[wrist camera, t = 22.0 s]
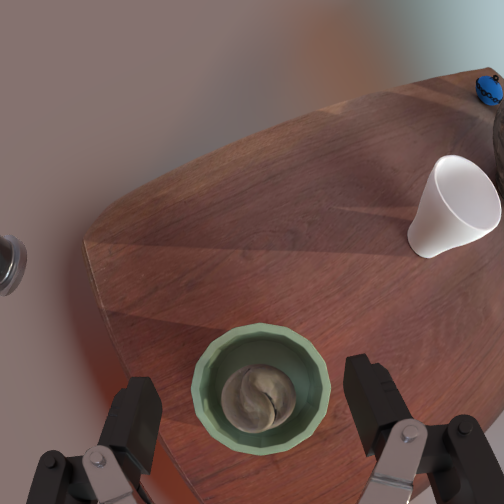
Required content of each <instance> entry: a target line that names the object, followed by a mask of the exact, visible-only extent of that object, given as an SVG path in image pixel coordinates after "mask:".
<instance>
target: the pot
mask: <svg viewBox="0 0 504 504" xmlns="http://www.w3.org/2000/svg"><path fill="white" fill-rule="evenodd" d="M252 364H266V365H270V366H274V367H276V368H278V369H280V370H281V371H283V372H284V373H285V374H286V375H287V376H288V377H289V378H290V379H291V381H292V383H293V385H294V388H295V392H296V403H295V407H294V409H293V412H292V413H291V415H290V416H289V417H288V418H287V419H286V420H285V421H284V422H283V423H282V424H280V425H278V426H277V427H274V428H271V429H268V430H266V431H263V432H260V433H248V432H244V431H241V430H239V429H238V428H236V427H235V426H233V425H232V424H231V423H230V421H229V420H228V419H227V418H226V416H225V414H224V412H223V409H222V403H221V395H222V390H223V387H224V385H225V383H226V381H227V380H228V378H229V377H230V376H231V375H232V374H233V373H234V372H236V371H237V370H239V369H241V368H243V367H245V366H247V365H252ZM330 391H331V385H330V380H329V376H328V371H327V367H326V363H325V361H324V360H323V358H322V357H321V356H320V354H319V353H318V351H317V350H316V349H315V347H314V346H313V345H312V343H311V342H310V341H309V340H307V339H306V338H304V337H302V336H301V335H299V334H297V333H296V332H294V331H292V330H291V329H289V328H287V327H283V326H277V325H271V324H265V323H256V324H251V325H246V326H241V327H236V328H233V329H231V330H230V331H228V332H227V333H225V334H223V335H222V336H220V337H219V338H217V339H216V340H214V341H213V342H211V343H210V345H209V346H208V348H207V349H206V350H205V352H204V353H203V355H202V356H201V358H200V359H199V360H198V362H197V364H196V366H195V371H194V375H193V380H192V385H191V394H192V399H193V404H194V408H195V413H196V415H197V417H198V418H199V420H200V421H201V423H202V424H203V425H204V427H205V428H206V430H207V431H208V433H209V434H210V435H211V436H212V437H213V438H215V439H216V440H218V441H219V442H221V443H222V444H224V445H225V446H227V447H229V448H230V449H232V450H234V451H239V452H244V453H249V454H255V455H267V454H272V453H277V452H282V451H287V450H289V449H291V448H292V447H294V446H296V445H297V444H299V443H300V442H302V441H303V440H305V439H306V438H308V437H309V436H311V435H312V433H313V432H314V431H315V429H316V428H317V426H318V425H319V423H320V422H321V420H322V419H323V417H324V416H325V414H326V412H327V407H328V402H329V397H330Z"/></svg>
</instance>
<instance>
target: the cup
mask: <svg viewBox="0 0 504 504" xmlns="http://www.w3.org/2000/svg"><path fill="white" fill-rule="evenodd" d="M500 218H501V204H500V199H499V196H498V193H497V191H496V189H495V187H494V185H493V183H492V182H491V180H490V179H489V178H488V176H487V175H486V174H485V173H484V172H483V171H482V170H481V169H480V168H479V167H478V166H477V165H475V164H474V163H473V162H471V161H469V160H467V159H465V158H463V157H460V156H456V155H446V156H444V157H441V158H440V159H439V160H438V161H437V162H436V164H435V166H434V168H433V169H432V171H431V173H430V175H429V178H428V180H427V183H426V186H425V189H424V191H423V194H422V197H421V200H420V203H419V207H418V211H417V214H416V216H415V218H414V220H413V222H412V223H411V225H410V227H409V229H408V234H407V236H408V241H409V244H410V246H411V248H412V249H413V250H414V251H415V252H416V254H418V255H420V256H421V257H424V258H432V257H434V256H436V255H438V254H439V253H441V252H443V251H446V250H448V249H451V248H454V247H458V246H461V245H465V244H467V243H470V242H472V241H474V240H477V239H479V238H481V237H483V236H484V235H486V234H487V233H489V232H490V231H492V230H493V229H494V228H495V227H496V226H497V225H498V223H499V221H500Z"/></svg>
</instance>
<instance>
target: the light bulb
mask: <svg viewBox="0 0 504 504" xmlns="http://www.w3.org/2000/svg"><path fill="white" fill-rule="evenodd" d="M221 403H222V409H223V412H224V414H225V416H226V418H227V419H228V420H229V421H230V423H231V424H232V425H233V426H235V427H236V428H238V429H239V430H241V431H244V432H248V433H260V432H263V431H266V430H268V429H271V428H274V427H277V426H278V425H280V424H282V423H283V422H284V421H285V420H286V419H287V418H288V417H289V416H290V415H291V413H292V412H293V409H294V407H295V403H296V392H295V388H294V385H293V383H292V381H291V379H290V378H289V377H288V376H287V375H286V374H285V373H284V372H283V371H281V370H280V369H278V368H276V367H274V366H270V365H266V364H252V365H247V366H245V367H243V368H241V369H239V370H237V371H236V372H234V373H233V374H232V375H231V376H230V377H229V378H228V380H227V381H226V383H225V385H224V387H223V390H222V395H221Z"/></svg>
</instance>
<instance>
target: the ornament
mask: <svg viewBox="0 0 504 504" xmlns="http://www.w3.org/2000/svg"><path fill="white" fill-rule="evenodd" d="M495 77H497V79H495ZM498 80H499V77H498V76H497V75H494V76H493V77H490V76H482V77H480V78H478V79H477V80H476V92H477V95H478V97H479V98H480V99H481V101H482V102H484V103H485V104H488V105H497V104H500V102H501V101H502V99H503V92H502V88H501V86H500V84H499V82H498Z"/></svg>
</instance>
